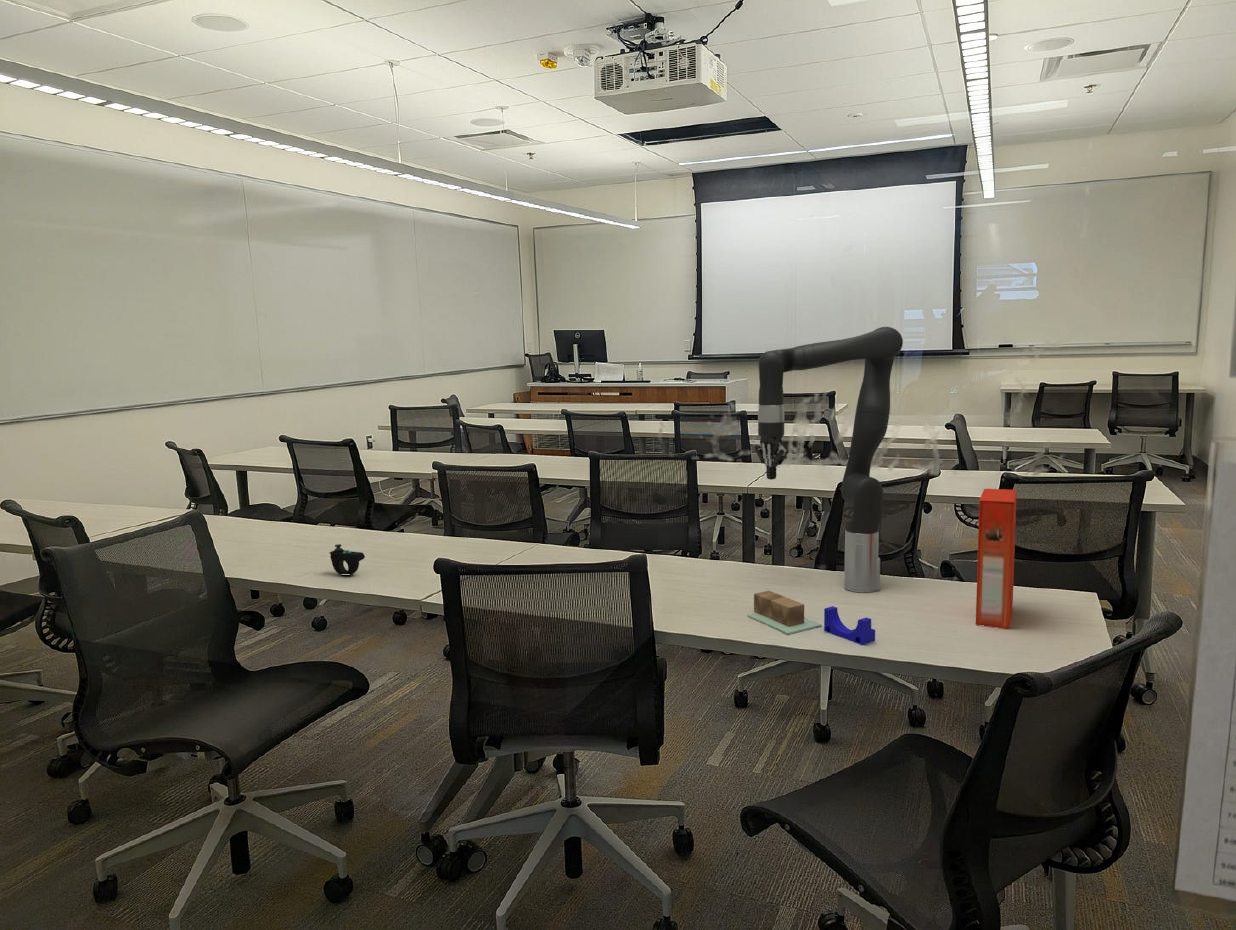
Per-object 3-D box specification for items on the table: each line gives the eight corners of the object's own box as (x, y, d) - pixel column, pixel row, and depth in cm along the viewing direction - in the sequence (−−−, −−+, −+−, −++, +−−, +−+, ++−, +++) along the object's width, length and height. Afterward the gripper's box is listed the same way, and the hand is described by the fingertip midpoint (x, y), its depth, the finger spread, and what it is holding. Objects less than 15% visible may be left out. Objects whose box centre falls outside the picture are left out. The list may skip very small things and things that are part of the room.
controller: (338, 572, 266) (336, 542, 264) (368, 575, 261) (365, 545, 259) (329, 575, 262) (326, 545, 260) (359, 579, 257) (356, 548, 255)
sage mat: (747, 616, 212) (747, 614, 212) (780, 609, 217) (780, 607, 217) (788, 634, 198) (788, 632, 198) (821, 626, 203) (821, 624, 203)
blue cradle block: (875, 641, 193) (875, 617, 192) (862, 645, 190) (862, 621, 190) (836, 627, 203) (836, 604, 202) (824, 631, 200) (824, 608, 200)
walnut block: (754, 593, 214) (789, 607, 202) (768, 590, 216) (804, 604, 204) (754, 611, 214) (789, 626, 202) (768, 608, 217) (804, 623, 205)
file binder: (974, 624, 202) (979, 499, 197) (979, 604, 217) (984, 488, 212) (1009, 629, 198) (1015, 502, 193) (1012, 608, 213) (1018, 490, 208)
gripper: (796, 420, 229) (796, 480, 232) (766, 417, 241) (767, 474, 243) (775, 422, 226) (776, 483, 228) (746, 419, 237) (747, 477, 240)
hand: (771, 478), depth 236 cm, fingers closed
